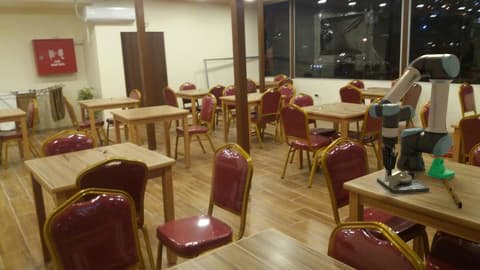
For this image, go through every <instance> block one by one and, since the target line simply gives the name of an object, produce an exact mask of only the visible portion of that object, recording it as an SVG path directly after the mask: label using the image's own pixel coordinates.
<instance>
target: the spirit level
mask: <svg viewBox="0 0 480 270" xmlns="http://www.w3.org/2000/svg"><path fill="white" fill-rule="evenodd" d="M442 184H443V186H444V187H445V189H446V190H447V192H448V194H449V195H450V197H451V198H452V200H453V201H454V203H455V204H456V206H457V208H458V209H462V207H463V202H462V200H461V199H460V198H459V197H458V195H457V193H456V192H455V190H453V187H452V186H451V184H450V183H449V181H448V179H446V178H443V179H442Z"/></svg>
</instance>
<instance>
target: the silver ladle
mask: <svg viewBox="0 0 480 270" xmlns="http://www.w3.org/2000/svg"><path fill="white" fill-rule="evenodd" d="M411 182H412V176H411V175H408V174H401V171H399V170H397V171H395V172H392V174H391V175H389V187H391V188H392V187H394V186H396V185H398V184H400V183H411Z"/></svg>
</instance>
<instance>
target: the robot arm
mask: <svg viewBox="0 0 480 270" xmlns="http://www.w3.org/2000/svg"><path fill="white" fill-rule="evenodd" d="M460 66H461V64H460V60H459V59H458V57H457V56H456V55H454V54H452V53H451V54H448V53H444V54H425V55H422V56H421V55H420V56H419V57H417V58H415V59H414V60H412V62H411V63H409V64H408V65H407V66H406V67H405V68H404V70H403V73H402V75H401V76H400V77H399V78H398V80H396V82H395V83H394V84H393V86H392V87H391V88H390V89H389V90H388V92H387V93H386V94H385V95H384V96H383V98H382V99H381V100H380V101H379V102H377V103H372V104H371V105H370V106H369V109H368V111H369V114H370V117H372V118H376V119H382V126H381V127H382V128H381V135H382V136H381V143H382V144H383V146H381V147H380V148H381V156H382V157H381V158H382V166H383V167H384V169H385V171H384V177H385V182H389V175H391V174H393V170H395V169H396V168H397V169H399V170H402V171H405V172H421V171H424V170H425V168H426V164H425V161H424V160H425V159H424V157H423V154H428V155H432V156H438V157H442V156H445V155H447V154H448V152H449V151H450V149H451V147H452V142H453V139H452V136H450V135H449V131H448V130H447V128H446V124H447V115H448V104H449V94H450V85H451V83H452V82H453V81H454V79H455V77H457V76H458V75H459V73H460ZM424 77H429V78H428V81H429V82H430V83H431V91H430V100H429V109H428V110H429V111H428V118H427V119H428V121H427V127H426V128H421V127H412V128H406V129H402V130H401V132H400V133H401V134H400V148H399V150H400V152H398V151H396V145H398V143H399V128H400V125H399V124H400V123H401V122H408V121H411V120H412V119H414V117H415V116H416V110H415V108H414V107H413V106H412V105H409V104H408V105H399V102H400V101H401V100H402V98H403V97H405V94H406V93H408V91H409V90H410V89H411V88H412V86H413V85H414V84H415V83H416V82H418V81H420V80H421V79H422V78H424ZM398 155H399V157H398Z"/></svg>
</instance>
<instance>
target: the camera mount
mask: <svg viewBox="0 0 480 270" xmlns="http://www.w3.org/2000/svg"><path fill="white" fill-rule="evenodd" d="M444 164H445V160H444V158H441V157H439V156H438V157H434V158H433V160H432V163H431V165H430V168H428V171H427V176H429V177H432V178H436V179H439V180H443V178H446V180H448V179H452V177H454V176H455V174H456V173H455V171H453V170H449V169H446V168H445V165H444Z"/></svg>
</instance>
